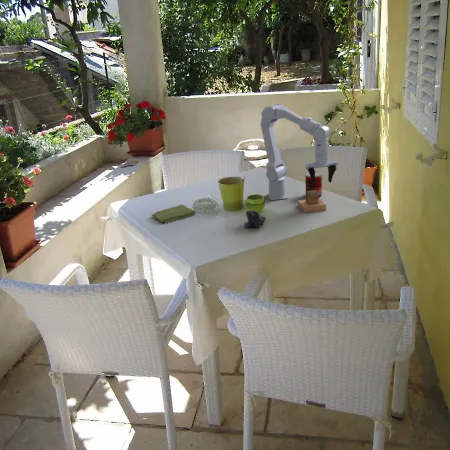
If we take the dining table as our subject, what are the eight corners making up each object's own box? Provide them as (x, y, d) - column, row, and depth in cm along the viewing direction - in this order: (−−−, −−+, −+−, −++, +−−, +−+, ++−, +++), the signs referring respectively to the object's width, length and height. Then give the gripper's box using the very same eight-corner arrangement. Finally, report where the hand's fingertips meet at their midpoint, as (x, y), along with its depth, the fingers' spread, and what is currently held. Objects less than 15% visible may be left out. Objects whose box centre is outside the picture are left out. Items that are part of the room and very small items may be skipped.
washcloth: (150, 218, 224) (149, 211, 222) (184, 209, 232) (183, 202, 231) (162, 225, 213) (161, 218, 212) (197, 216, 221) (196, 209, 220)
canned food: (321, 193, 238) (321, 171, 234) (322, 198, 230) (322, 175, 226) (305, 193, 239) (304, 172, 235) (306, 198, 231) (305, 176, 227)
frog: (252, 232, 197) (251, 216, 195) (238, 225, 206) (237, 209, 203) (270, 227, 201) (270, 211, 199) (256, 220, 210) (255, 204, 208)
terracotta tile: (297, 205, 223) (297, 200, 222) (319, 203, 224) (318, 197, 223) (304, 212, 214) (304, 207, 213) (326, 209, 215) (326, 204, 214)
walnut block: (305, 201, 220) (305, 191, 218) (315, 200, 220) (315, 190, 219) (308, 204, 216) (308, 194, 214) (318, 203, 216) (318, 192, 214)
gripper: (308, 157, 210) (308, 187, 215) (340, 153, 212) (340, 183, 217) (303, 153, 217) (304, 182, 222) (335, 150, 219) (334, 179, 223)
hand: (321, 182), depth 220 cm, fingers open, 7 cm apart
